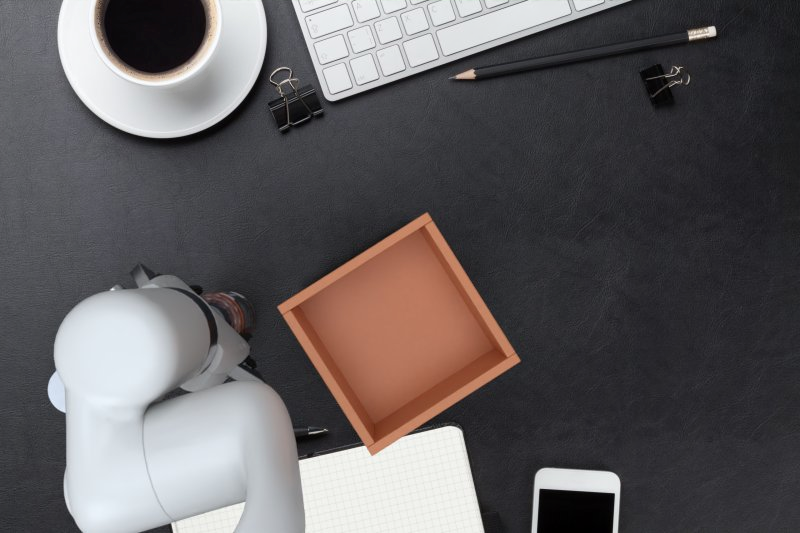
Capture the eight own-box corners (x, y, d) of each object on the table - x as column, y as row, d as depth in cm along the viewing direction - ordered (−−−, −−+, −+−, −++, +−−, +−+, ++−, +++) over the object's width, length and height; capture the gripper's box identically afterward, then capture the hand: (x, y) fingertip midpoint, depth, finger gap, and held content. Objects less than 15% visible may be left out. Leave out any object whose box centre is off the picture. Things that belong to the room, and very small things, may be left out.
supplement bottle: (232, 279, 82) (209, 280, 71) (267, 321, 82) (250, 329, 71) (189, 314, 82) (159, 321, 70) (224, 357, 82) (200, 370, 70)
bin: (504, 349, 60) (521, 361, 53) (371, 434, 60) (372, 456, 53) (420, 217, 60) (427, 211, 53) (287, 301, 59) (276, 306, 53)
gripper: (46, 293, 57) (125, 289, 75) (214, 452, 57) (252, 409, 75) (117, 221, 57) (178, 234, 75) (283, 379, 57) (305, 354, 75)
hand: (215, 322), depth 75 cm, fingers closed on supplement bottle, 6 cm apart
